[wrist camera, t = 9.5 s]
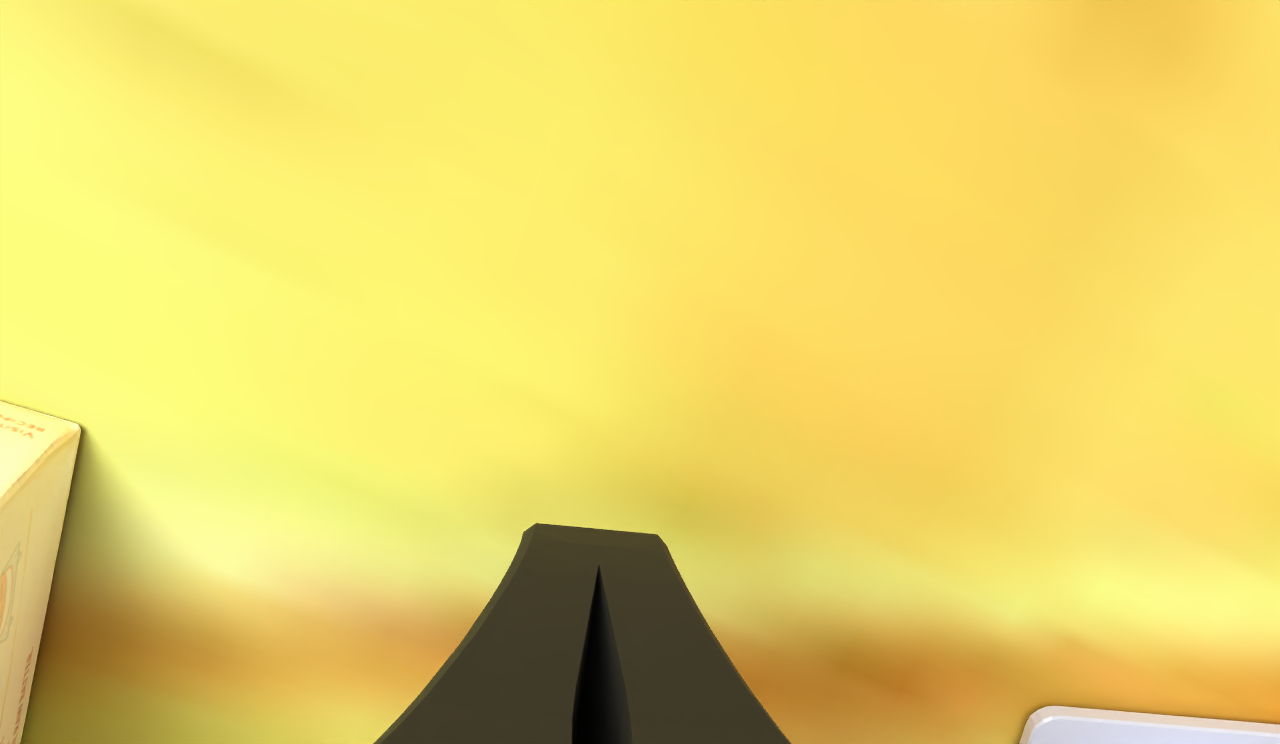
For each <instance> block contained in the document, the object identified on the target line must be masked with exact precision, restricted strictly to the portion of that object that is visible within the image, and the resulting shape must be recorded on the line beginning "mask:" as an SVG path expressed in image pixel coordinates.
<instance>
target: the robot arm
mask: <svg viewBox="0 0 1280 744" xmlns="http://www.w3.org/2000/svg"><path fill="white" fill-rule="evenodd" d="M374 744H791V743H790V742H789V741H788V739H787V738H786V737H785V735H784V734H783V733H782V732H781V730H780V729H779V728H778V726H777V725H776V724H775V722H774V721H773V720H772V718H771V717H770V716H769V714H768V713H767V712H766V710H765V709H764V708H763V706H762V705H761V704H760V702H759V701H758V700H757V698H756V697H755V696H754V694H753V693H752V691H751V690H750V688H749V687H748V686H747V684H746V683H745V681H744V680H743V678H742V677H741V675H740V674H739V673H738V671H737V669H736V668H735V666H734V665H733V663H732V662H731V660H730V659H729V657H728V655H727V654H726V652H725V651H724V649H723V648H722V646H721V645H720V643H719V641H718V640H717V638H716V637H715V635H714V634H713V632H712V630H711V629H710V627H709V625H708V624H707V622H706V620H705V619H704V617H703V615H702V614H701V612H700V610H699V608H698V606H697V605H696V603H695V601H694V599H693V598H692V596H691V594H690V592H689V590H688V588H687V587H686V585H685V583H684V581H683V579H682V577H681V575H680V573H679V571H678V569H677V567H676V565H675V563H674V561H673V559H672V557H671V555H670V552H669V550H668V548H667V546H666V544H665V543H664V542H663V541H662V539H661V538H660V537H659V536H658V535H657V534H647V533H636V532H625V531H614V530H604V529H593V528H582V527H571V526H561V525H550V524H539V523H536V524H534V525H533V526H532V527H530V528H529V529H527V530H526V531H524V533H523V536H522V540H521V543H520V546H519V548H518V550H517V552H516V555H515V557H514V559H513V561H512V563H511V565H510V567H509V569H508V571H507V572H506V574H505V576H504V578H503V579H502V581H501V583H500V584H499V586H498V588H497V590H496V591H495V593H494V595H493V596H492V598H491V599H490V601H489V602H488V604H487V605H486V607H485V608H484V610H483V611H482V613H481V614H480V616H479V617H478V619H477V620H476V621H475V623H474V624H473V626H472V627H471V629H470V630H469V632H468V633H467V635H466V636H465V638H464V639H463V640H462V642H461V643H460V644H459V646H458V647H457V648H456V650H455V651H454V652H453V653H452V655H451V656H450V657H449V658H448V660H447V661H446V662H445V663H444V665H443V666H442V667H441V668H440V670H439V671H438V672H437V673H436V675H435V676H434V677H433V678H432V680H431V681H430V682H429V683H428V684H427V686H426V687H425V688H424V689H423V691H422V692H421V693H420V694H419V695H418V697H417V698H416V699H415V700H414V701H413V702H412V703H411V705H410V706H409V707H408V708H407V709H406V710H405V711H404V712H403V713H402V715H401V716H400V717H399V718H398V719H397V720H396V721H395V722H394V723H393V724H392V725H391V726H390V727H389V728H388V730H387V731H386V732H385V733H384V734H383V735H382V736H381V737H380V738H379V739H378V740H377V741H376V742H375V743H374ZM1019 744H1280V725H1278V724H1267V723H1255V722H1243V721H1231V720H1219V719H1207V718H1195V717H1183V716H1172V715H1160V714H1148V713H1136V712H1124V711H1112V710H1100V709H1089V708H1077V707H1065V706H1046V707H1044V708H1041V709H1038V710H1037V711H1035V712H1034V713H1033V714H1032V715H1031V716H1030V717H1029V719H1028V721H1027V722H1026V725H1025V728H1024V731H1023V734H1022V737H1021V740H1020V743H1019Z"/></svg>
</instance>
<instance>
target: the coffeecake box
mask: <svg viewBox="0 0 1280 744" xmlns="http://www.w3.org/2000/svg"><path fill="white" fill-rule="evenodd" d="M80 434H81V429H80V427H79V425H78V424H76V423H73V422H69V421H66V420H63V419H60V418H56V417H53V416H49V415H46V414H43V413H39V412H36V411H33V410H29V409H26V408H22V407H19V406H16V405H12V404H9V403H5V402H2V401H0V744H20V742H21V737H22V733H23V728H24V724H25V718H26V713H27V708H28V703H29V697H30V691H31V686H32V681H33V676H34V671H35V666H36V661H37V655H38V650H39V645H40V640H41V635H42V630H43V625H44V620H45V615H46V610H47V605H48V600H49V594H50V589H51V584H52V578H53V573H54V567H55V562H56V557H57V552H58V547H59V542H60V537H61V532H62V527H63V522H64V516H65V511H66V506H67V501H68V496H69V491H70V485H71V480H72V475H73V470H74V464H75V459H76V454H77V449H78V444H79V439H80Z"/></svg>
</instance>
